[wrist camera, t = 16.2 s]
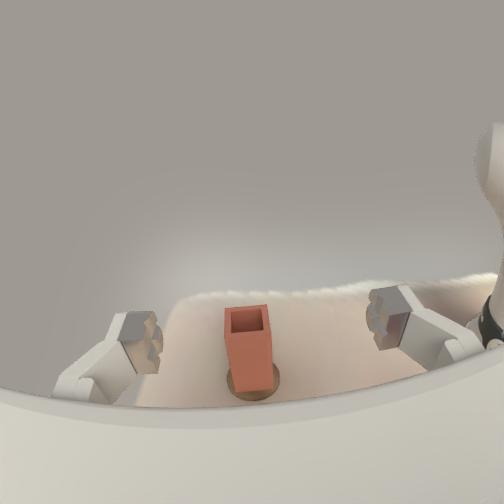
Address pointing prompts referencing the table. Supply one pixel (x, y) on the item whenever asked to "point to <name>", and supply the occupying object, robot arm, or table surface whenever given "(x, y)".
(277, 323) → the table surface
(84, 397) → the robot arm
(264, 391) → the shaft post
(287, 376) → the table surface
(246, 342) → the red square vase
